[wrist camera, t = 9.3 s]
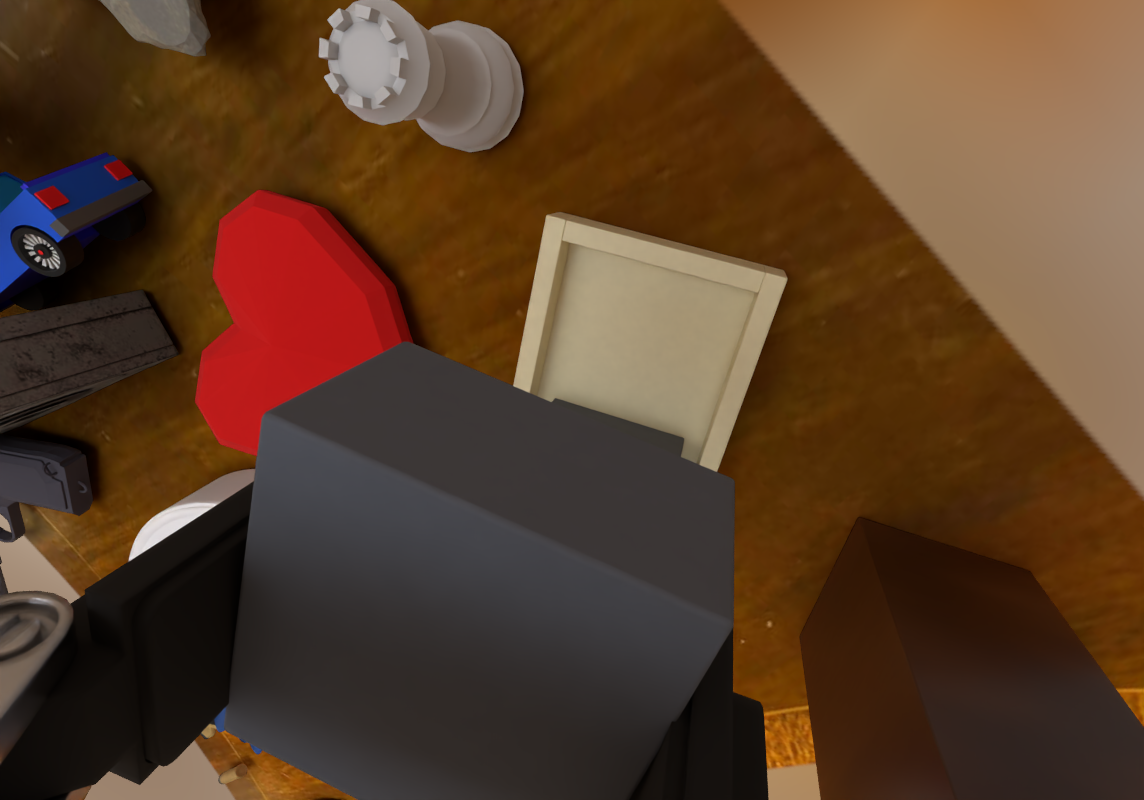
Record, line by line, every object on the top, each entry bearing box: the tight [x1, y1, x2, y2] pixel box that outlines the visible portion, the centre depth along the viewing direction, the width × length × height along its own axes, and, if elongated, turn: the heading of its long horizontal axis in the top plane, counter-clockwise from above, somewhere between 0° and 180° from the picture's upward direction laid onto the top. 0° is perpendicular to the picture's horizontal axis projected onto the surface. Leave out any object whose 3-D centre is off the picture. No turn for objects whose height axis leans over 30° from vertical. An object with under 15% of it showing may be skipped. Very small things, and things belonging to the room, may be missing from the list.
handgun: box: [0, 434, 93, 595], centre depth 39 cm, size 18×2×12 cm
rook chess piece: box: [319, 0, 524, 152], centre depth 20 cm, size 4×4×8 cm
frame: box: [513, 212, 787, 472], centre depth 26 cm, size 9×15×2 cm, turn 167°
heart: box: [195, 190, 413, 456], centre depth 27 cm, size 12×4×10 cm
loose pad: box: [224, 342, 735, 800], centre depth 10 cm, size 6×6×4 cm
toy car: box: [0, 152, 153, 312], centre depth 28 cm, size 7×12×5 cm
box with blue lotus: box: [129, 469, 262, 754], centre depth 33 cm, size 7×16×20 cm
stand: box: [800, 517, 1144, 800], centre depth 19 cm, size 7×7×18 cm
